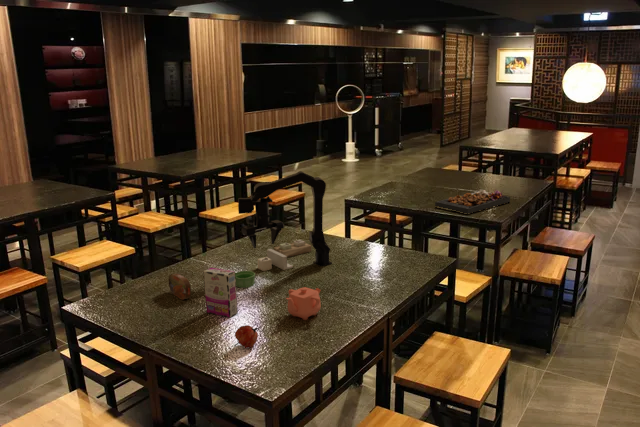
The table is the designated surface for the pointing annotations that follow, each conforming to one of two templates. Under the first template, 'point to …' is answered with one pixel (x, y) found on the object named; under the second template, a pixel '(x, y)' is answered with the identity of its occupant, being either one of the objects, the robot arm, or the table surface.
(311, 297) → the pink rounded piece
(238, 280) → the ramekin
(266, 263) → the letter block
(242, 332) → the red apple
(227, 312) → the candy bar box
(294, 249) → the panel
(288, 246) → the button
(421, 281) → the table surface
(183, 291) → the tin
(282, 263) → the grey screen
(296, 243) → the T button
